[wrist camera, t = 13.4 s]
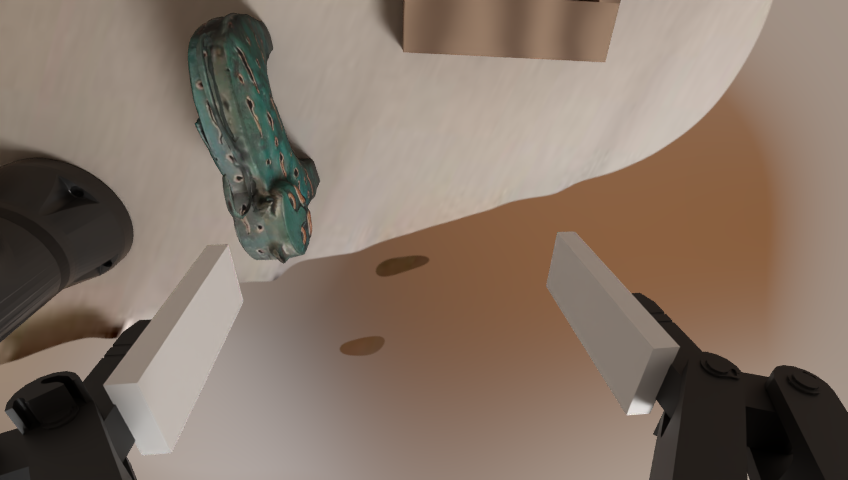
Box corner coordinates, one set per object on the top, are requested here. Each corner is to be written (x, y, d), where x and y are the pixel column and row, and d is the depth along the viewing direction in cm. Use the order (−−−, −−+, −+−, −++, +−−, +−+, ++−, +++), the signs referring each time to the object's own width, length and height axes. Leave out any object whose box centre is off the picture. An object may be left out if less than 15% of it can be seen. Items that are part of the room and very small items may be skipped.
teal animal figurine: (332, 192, 49) (301, 287, 32) (282, 201, 49) (223, 301, 32) (277, 9, 39) (188, 4, 22) (214, 22, 39) (75, 26, 22)
